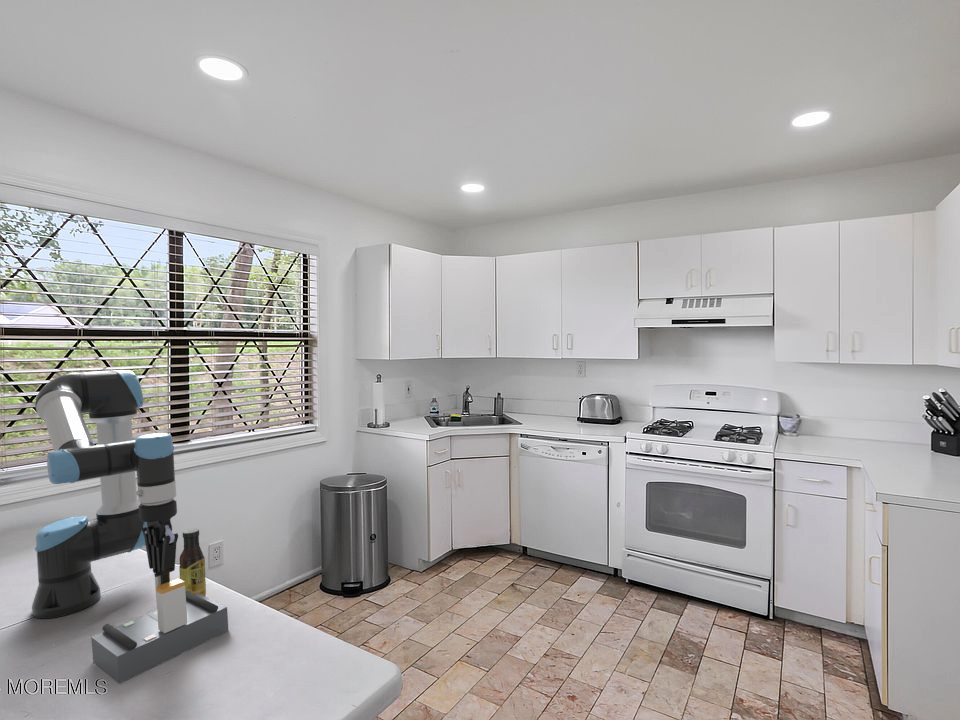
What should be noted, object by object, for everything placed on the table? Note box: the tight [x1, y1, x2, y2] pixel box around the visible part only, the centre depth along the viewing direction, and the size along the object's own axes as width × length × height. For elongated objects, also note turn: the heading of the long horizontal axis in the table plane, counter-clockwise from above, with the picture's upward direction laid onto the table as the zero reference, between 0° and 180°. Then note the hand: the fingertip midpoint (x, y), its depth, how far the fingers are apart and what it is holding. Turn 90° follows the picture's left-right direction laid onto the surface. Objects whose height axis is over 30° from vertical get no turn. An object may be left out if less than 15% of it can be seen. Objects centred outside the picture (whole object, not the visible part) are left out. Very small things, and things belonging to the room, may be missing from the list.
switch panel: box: [90, 593, 229, 685], centre depth 126 cm, size 14×24×6 cm, turn 145°
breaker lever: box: [155, 577, 187, 633], centre depth 122 cm, size 3×5×10 cm, turn 145°
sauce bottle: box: [178, 528, 207, 597], centre depth 147 cm, size 7×6×20 cm
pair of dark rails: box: [101, 591, 218, 650], centre depth 126 cm, size 14×20×2 cm
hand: (163, 599), depth 124 cm, fingers closed
